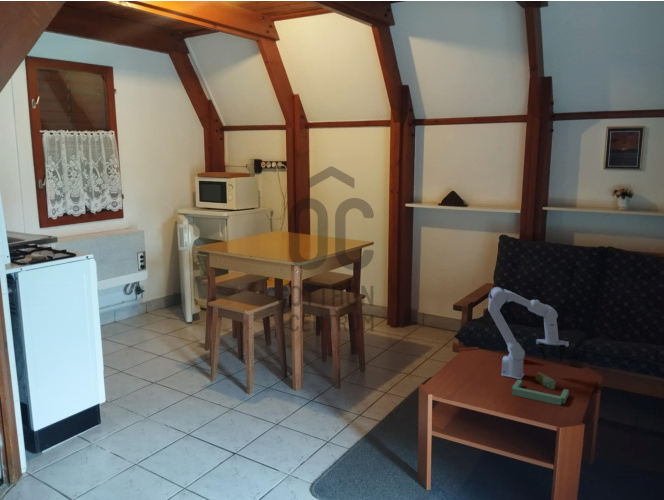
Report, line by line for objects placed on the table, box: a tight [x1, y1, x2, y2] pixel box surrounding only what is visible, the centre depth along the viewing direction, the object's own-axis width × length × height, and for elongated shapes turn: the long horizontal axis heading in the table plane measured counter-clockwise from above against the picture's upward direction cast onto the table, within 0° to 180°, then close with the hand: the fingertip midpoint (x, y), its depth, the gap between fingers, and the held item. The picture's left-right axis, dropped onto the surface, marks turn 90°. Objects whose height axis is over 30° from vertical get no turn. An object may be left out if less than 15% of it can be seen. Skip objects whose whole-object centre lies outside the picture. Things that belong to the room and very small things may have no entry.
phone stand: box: [508, 337, 524, 354], centre depth 286 cm, size 9×6×12 cm, turn 156°
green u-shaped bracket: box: [511, 379, 570, 406], centre depth 243 cm, size 22×14×3 cm, turn 58°
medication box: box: [535, 371, 557, 390], centre depth 255 cm, size 12×3×4 cm, turn 13°
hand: (553, 359), depth 263 cm, fingers open, 7 cm apart
